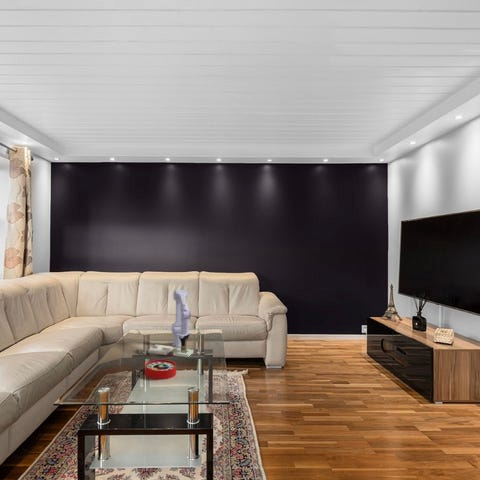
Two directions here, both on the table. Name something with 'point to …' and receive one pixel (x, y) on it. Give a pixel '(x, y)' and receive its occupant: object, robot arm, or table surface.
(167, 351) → the socket block
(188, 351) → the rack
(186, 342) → the peg
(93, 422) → the table surface
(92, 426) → the table surface
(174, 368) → the toy clock
